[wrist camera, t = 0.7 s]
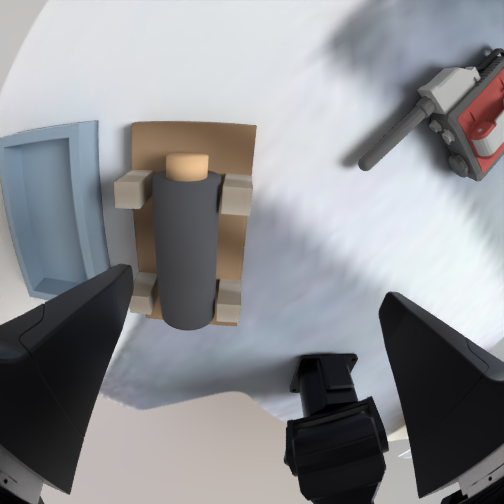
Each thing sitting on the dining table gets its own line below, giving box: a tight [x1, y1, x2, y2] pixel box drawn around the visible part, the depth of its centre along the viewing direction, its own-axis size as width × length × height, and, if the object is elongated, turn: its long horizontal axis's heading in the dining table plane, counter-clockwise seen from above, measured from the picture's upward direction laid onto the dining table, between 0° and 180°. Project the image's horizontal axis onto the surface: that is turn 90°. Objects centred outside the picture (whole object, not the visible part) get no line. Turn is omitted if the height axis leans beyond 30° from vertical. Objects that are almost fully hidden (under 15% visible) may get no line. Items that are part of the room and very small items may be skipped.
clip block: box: [114, 121, 257, 326], centre depth 19 cm, size 16×8×4 cm, turn 174°
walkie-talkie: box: [358, 48, 504, 181], centre depth 15 cm, size 9×4×20 cm
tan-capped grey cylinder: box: [152, 152, 221, 330], centre depth 18 cm, size 11×4×4 cm, turn 175°
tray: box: [0, 120, 110, 300], centre depth 19 cm, size 15×9×3 cm, turn 175°
